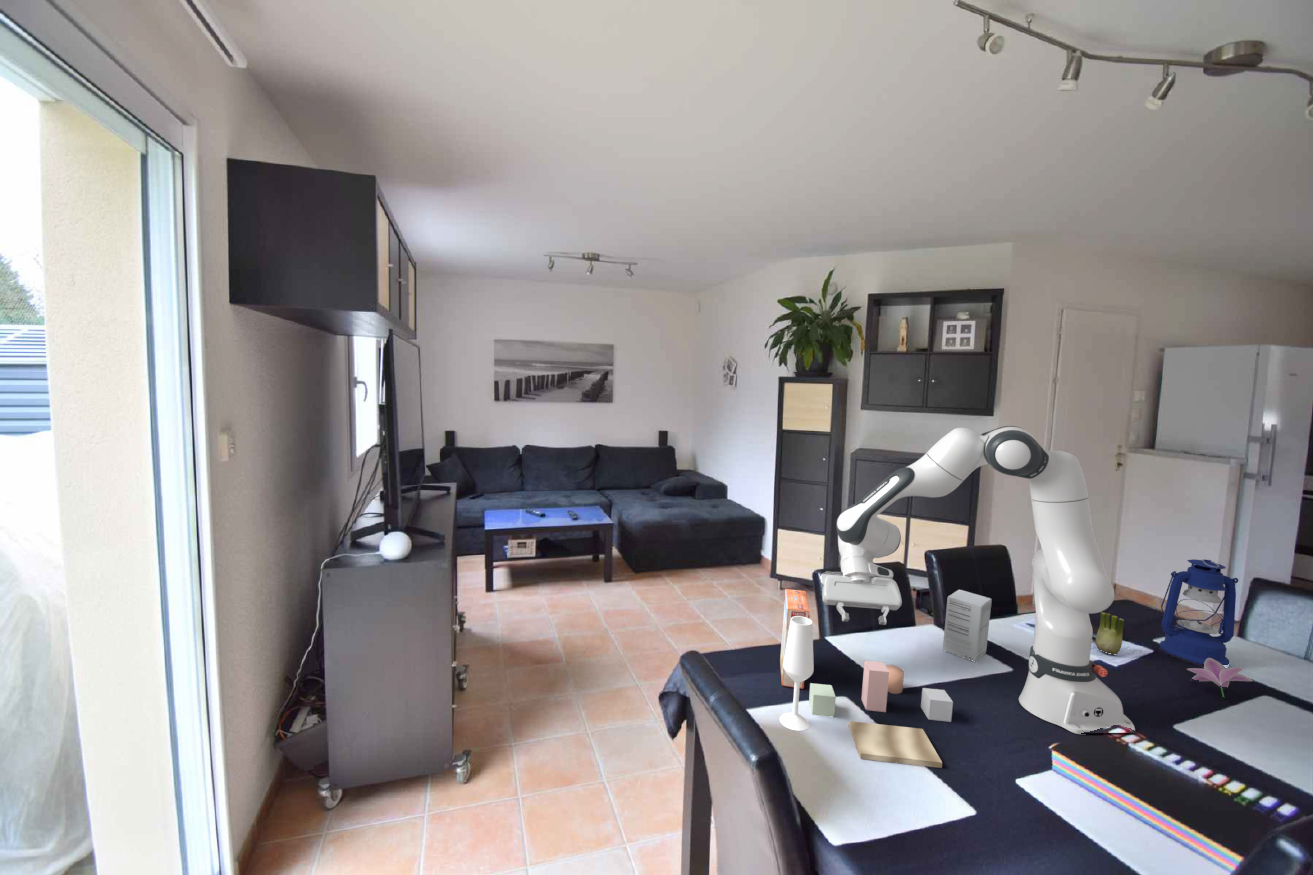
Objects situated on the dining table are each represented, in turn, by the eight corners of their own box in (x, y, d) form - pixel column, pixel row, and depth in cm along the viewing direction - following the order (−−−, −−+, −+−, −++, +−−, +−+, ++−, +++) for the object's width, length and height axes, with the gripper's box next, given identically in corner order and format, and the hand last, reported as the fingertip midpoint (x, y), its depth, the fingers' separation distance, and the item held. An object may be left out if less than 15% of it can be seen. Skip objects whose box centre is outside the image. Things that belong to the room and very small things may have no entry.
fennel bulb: (1122, 658, 162) (1127, 619, 161) (1106, 657, 162) (1110, 618, 161) (1106, 648, 168) (1111, 611, 166) (1090, 647, 168) (1095, 610, 166)
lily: (1260, 706, 141) (1250, 666, 144) (1252, 701, 134) (1242, 660, 138) (1196, 699, 150) (1189, 662, 153) (1186, 694, 143) (1178, 655, 147)
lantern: (1173, 663, 160) (1187, 563, 157) (1144, 640, 174) (1156, 549, 171) (1247, 674, 155) (1263, 572, 152) (1211, 649, 169) (1225, 556, 166)
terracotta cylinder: (898, 684, 142) (900, 665, 142) (905, 694, 138) (907, 675, 137) (879, 682, 143) (880, 663, 143) (884, 692, 138) (886, 673, 138)
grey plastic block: (942, 709, 132) (944, 690, 131) (951, 722, 127) (953, 702, 126) (920, 707, 132) (922, 687, 132) (928, 719, 127) (930, 699, 127)
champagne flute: (810, 716, 127) (817, 617, 124) (808, 733, 120) (816, 629, 118) (781, 710, 129) (787, 612, 126) (777, 726, 123) (784, 623, 120)
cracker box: (805, 690, 138) (810, 610, 136) (780, 686, 139) (785, 607, 137) (801, 663, 151) (806, 590, 149) (779, 660, 153) (784, 587, 150)
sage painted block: (830, 704, 132) (831, 685, 131) (834, 717, 127) (835, 697, 126) (808, 702, 132) (810, 683, 132) (812, 715, 128) (813, 694, 127)
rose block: (880, 701, 134) (883, 662, 133) (885, 712, 130) (889, 672, 129) (861, 699, 135) (864, 660, 134) (866, 710, 130) (869, 670, 129)
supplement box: (953, 641, 168) (958, 588, 167) (986, 652, 162) (992, 598, 160) (941, 650, 162) (946, 595, 160) (975, 663, 155) (981, 606, 154)
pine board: (922, 733, 122) (922, 728, 122) (941, 768, 111) (942, 762, 111) (848, 726, 124) (848, 721, 124) (860, 758, 113) (860, 753, 113)
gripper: (821, 565, 151) (825, 614, 142) (898, 571, 149) (907, 621, 140) (817, 575, 156) (821, 623, 147) (892, 581, 154) (900, 630, 145)
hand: (864, 622), depth 144 cm, fingers open, 8 cm apart
